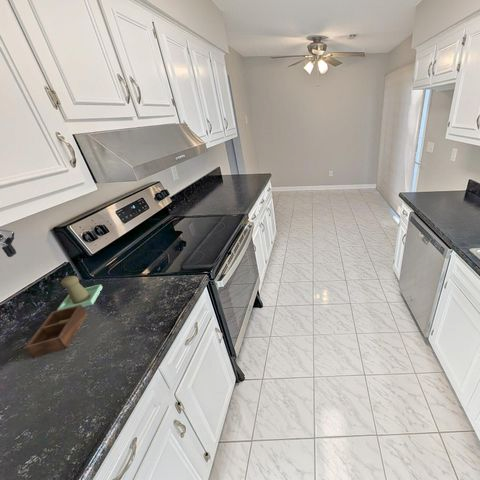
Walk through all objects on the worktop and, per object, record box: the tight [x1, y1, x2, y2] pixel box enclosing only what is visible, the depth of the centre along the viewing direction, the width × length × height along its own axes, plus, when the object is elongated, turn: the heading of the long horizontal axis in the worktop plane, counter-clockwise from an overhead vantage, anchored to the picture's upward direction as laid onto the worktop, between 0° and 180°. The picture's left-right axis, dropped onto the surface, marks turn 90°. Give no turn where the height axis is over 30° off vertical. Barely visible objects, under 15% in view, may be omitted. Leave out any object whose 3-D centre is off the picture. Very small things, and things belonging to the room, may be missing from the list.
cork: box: [60, 275, 91, 304], centre depth 105 cm, size 6×6×11 cm
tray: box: [56, 283, 103, 311], centre depth 107 cm, size 11×12×2 cm
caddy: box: [24, 305, 88, 359], centre depth 90 cm, size 9×17×5 cm, turn 22°
